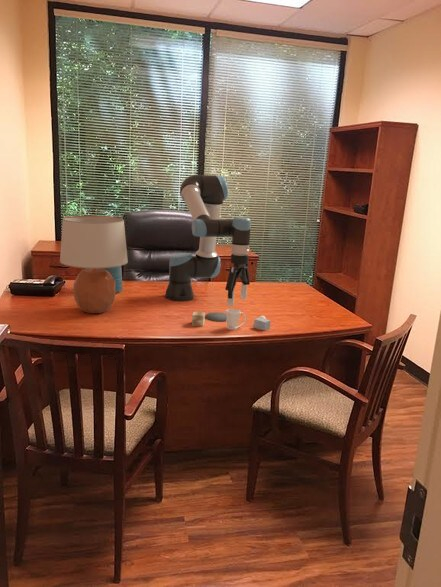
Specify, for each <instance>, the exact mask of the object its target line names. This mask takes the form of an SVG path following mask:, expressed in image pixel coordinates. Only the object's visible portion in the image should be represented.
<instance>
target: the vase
mask: <svg viewBox="0 0 441 587" xmlns="http://www.w3.org/2000/svg"><path fill="white" fill-rule="evenodd" d="M103 269H106V270H107V271H109V273H110V274H111V276H112V277H113V278H114V281H115V285H116V290H115V294H118V293H117V292H119V293H120V292H122V291H123V290H124V286H123V276H122V274H123V272H122V266H118V267H110V268H103Z"/></svg>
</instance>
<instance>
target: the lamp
mask: <svg viewBox="0 0 441 587" xmlns="http://www.w3.org/2000/svg"><path fill="white" fill-rule="evenodd" d="M60 239H61V241H60V242H61V244H60V254H59V255H60V256H59V262H60V263H61V265H64V266H67V267H71V268H79V269H82V270H81V271H80V272H79V273H78V275H77V276H76V277H75V280H74V282H73V297H74V300H75V303H76V305H77V307H78V308H79V309H80V310H81V311H82V312H85V313H86V312H87V314H90V313H99V314H103V313H105V312H107V311H108V310H109V309H111V308H112V305H113V304H114V301H115V297H116V293H115V290H116V285H115V281H114V278H113V277H112V276H111V274H110V273H109V271H107V270H106V269H103V268H110V267H118V266H121V267H122V266H124V265H127V264H128V262H129V260H128V251H127V250H128V248H127V241H126V240H127V238H126V229H125V220H124V219H123V218H121V217H115V216H108V215H107V216H105V215H72V216H71V215H70V216H65V217H63V218H62V228H61V238H60ZM102 312H103V313H102Z"/></svg>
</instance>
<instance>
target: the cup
mask: <svg viewBox="0 0 441 587" xmlns="http://www.w3.org/2000/svg"><path fill="white" fill-rule="evenodd" d="M225 314H226V321H225V322H226V325H227V326H226V328H227V330H231V331H235V330H237V329H239V328H240V327H242V326H244V324H245V323H247V322H246V321H247V315H246V314H245V312H243V311H242V312H241V310H240V309H238V308H227V309H225ZM241 314H243V315H244V321H243V322H242V323H241V324H240V325H239V322H240V316H241Z"/></svg>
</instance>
